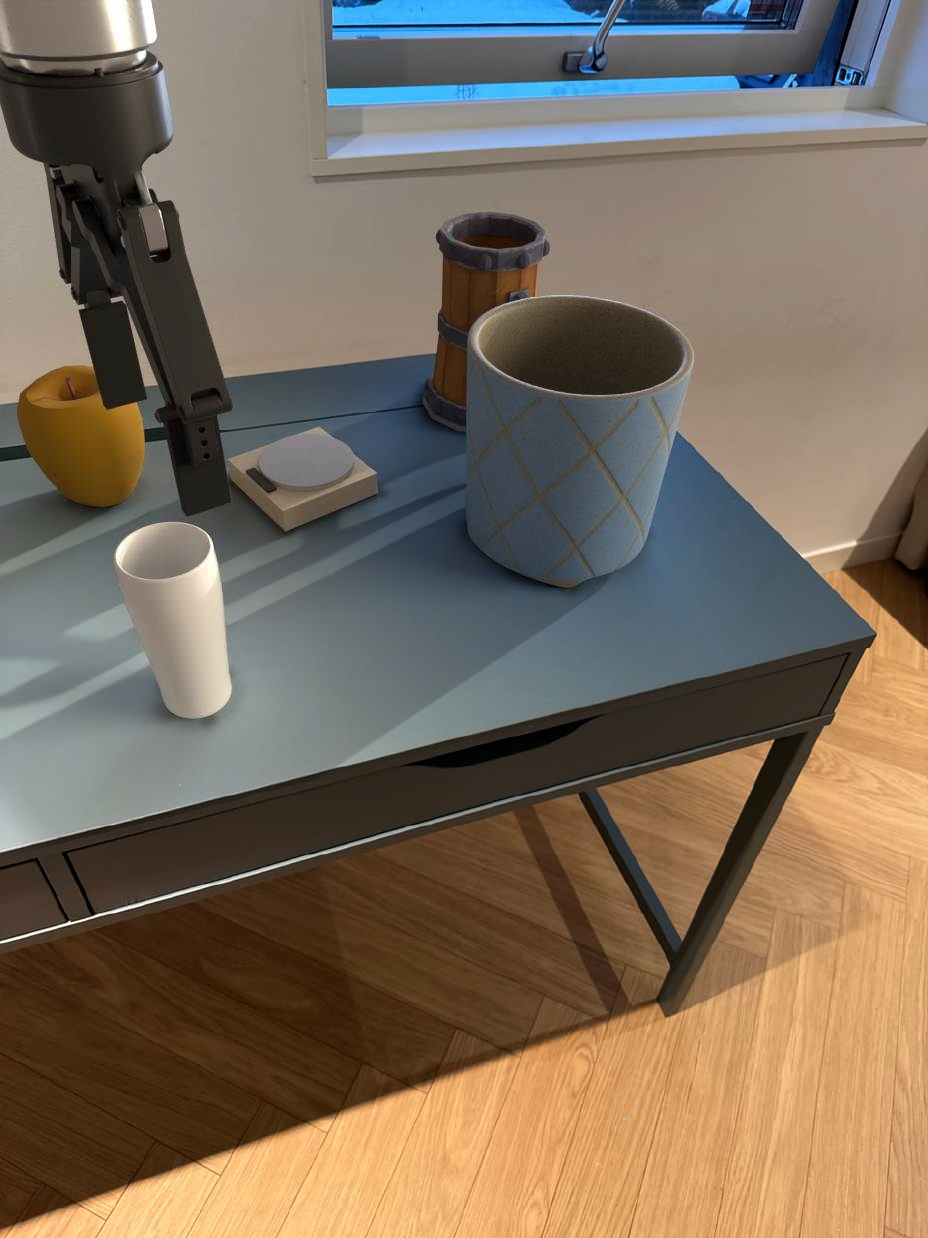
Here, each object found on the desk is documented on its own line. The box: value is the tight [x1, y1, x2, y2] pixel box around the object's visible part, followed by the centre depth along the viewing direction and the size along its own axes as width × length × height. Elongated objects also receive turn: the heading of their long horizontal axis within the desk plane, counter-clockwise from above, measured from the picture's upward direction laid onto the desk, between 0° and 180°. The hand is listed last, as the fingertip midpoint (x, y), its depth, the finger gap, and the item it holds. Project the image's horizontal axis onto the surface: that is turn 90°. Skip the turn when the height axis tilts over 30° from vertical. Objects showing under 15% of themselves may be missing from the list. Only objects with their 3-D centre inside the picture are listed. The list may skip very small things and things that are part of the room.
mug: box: [421, 211, 551, 433], centre depth 99 cm, size 19×14×20 cm
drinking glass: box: [113, 521, 233, 720], centre depth 67 cm, size 7×7×15 cm
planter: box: [465, 294, 695, 589], centre depth 83 cm, size 19×19×20 cm
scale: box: [227, 426, 379, 532], centre depth 93 cm, size 11×11×3 cm
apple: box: [16, 364, 146, 508], centre depth 87 cm, size 11×11×13 cm
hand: (163, 451), depth 56 cm, fingers open, 13 cm apart
